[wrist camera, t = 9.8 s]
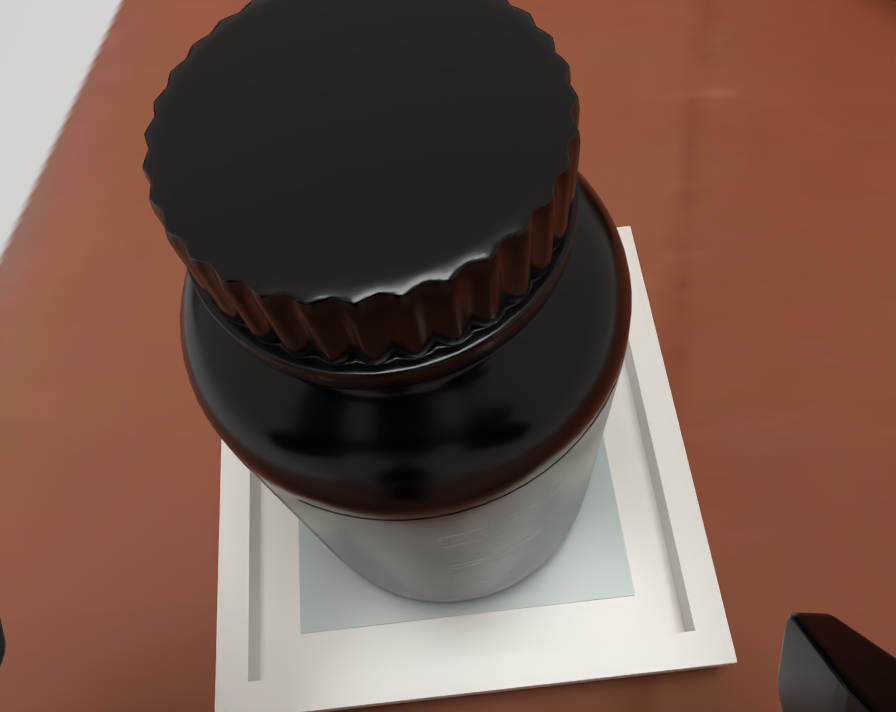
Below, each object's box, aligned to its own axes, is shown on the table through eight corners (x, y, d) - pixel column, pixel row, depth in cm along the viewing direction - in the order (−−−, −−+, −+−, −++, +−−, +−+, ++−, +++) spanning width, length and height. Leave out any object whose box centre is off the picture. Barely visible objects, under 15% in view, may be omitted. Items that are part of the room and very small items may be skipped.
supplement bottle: (577, 334, 20) (660, -112, 9) (595, 607, 17) (747, 410, 7) (318, 340, 21) (114, -81, 10) (293, 606, 18) (-35, 421, 7)
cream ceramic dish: (719, 666, 17) (737, 662, 16) (236, 721, 17) (214, 722, 16) (622, 256, 22) (629, 225, 21) (242, 302, 22) (225, 275, 21)
